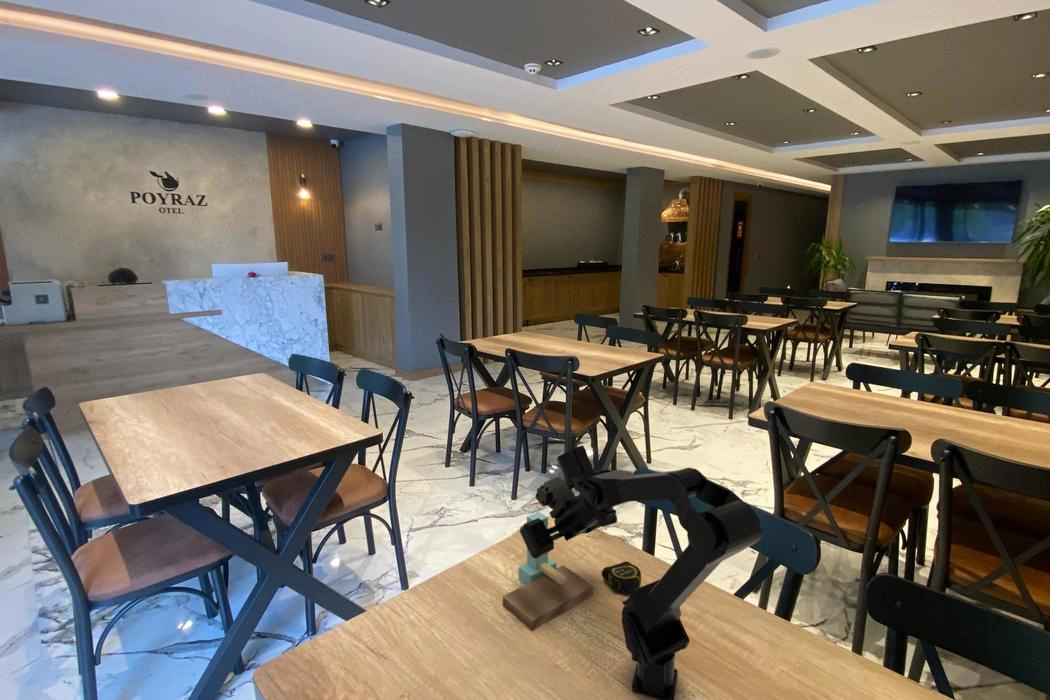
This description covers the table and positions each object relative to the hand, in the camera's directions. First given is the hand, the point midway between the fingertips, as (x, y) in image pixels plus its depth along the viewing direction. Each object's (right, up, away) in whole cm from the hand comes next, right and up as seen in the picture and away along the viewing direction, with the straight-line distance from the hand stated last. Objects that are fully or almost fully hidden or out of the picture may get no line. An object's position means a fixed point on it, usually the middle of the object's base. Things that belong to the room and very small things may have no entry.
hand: (545, 540), depth 109 cm
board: (+1, -11, -3) cm, 11 cm away
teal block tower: (0, -10, +2) cm, 10 cm away
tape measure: (+16, -10, +2) cm, 19 cm away
